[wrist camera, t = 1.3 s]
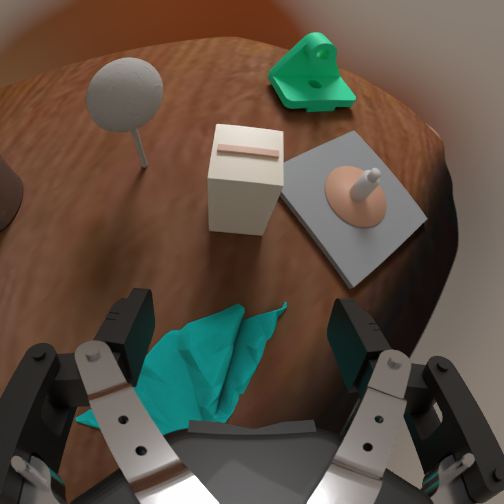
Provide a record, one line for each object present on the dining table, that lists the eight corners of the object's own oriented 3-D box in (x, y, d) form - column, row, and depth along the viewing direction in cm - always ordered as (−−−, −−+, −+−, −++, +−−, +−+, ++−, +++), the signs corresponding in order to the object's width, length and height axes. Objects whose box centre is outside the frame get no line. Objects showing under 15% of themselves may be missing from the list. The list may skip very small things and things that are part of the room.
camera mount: (284, 114, 37) (301, 57, 27) (266, 83, 39) (278, 30, 29) (352, 111, 39) (377, 64, 30) (331, 82, 41) (350, 36, 32)
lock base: (263, 176, 33) (273, 143, 27) (351, 134, 37) (368, 106, 31) (349, 289, 29) (378, 275, 24) (423, 221, 34) (450, 201, 28)
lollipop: (124, 144, 32) (94, 50, 18) (177, 142, 33) (166, 40, 19) (112, 191, 30) (64, 97, 16) (170, 190, 31) (148, 85, 16)
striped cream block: (209, 230, 30) (207, 175, 20) (214, 185, 31) (216, 121, 22) (262, 235, 30) (284, 183, 20) (264, 190, 32) (283, 129, 22)
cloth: (95, 463, 20) (87, 470, 18) (52, 347, 24) (41, 346, 22) (323, 396, 26) (331, 400, 24) (276, 276, 30) (281, 271, 28)
